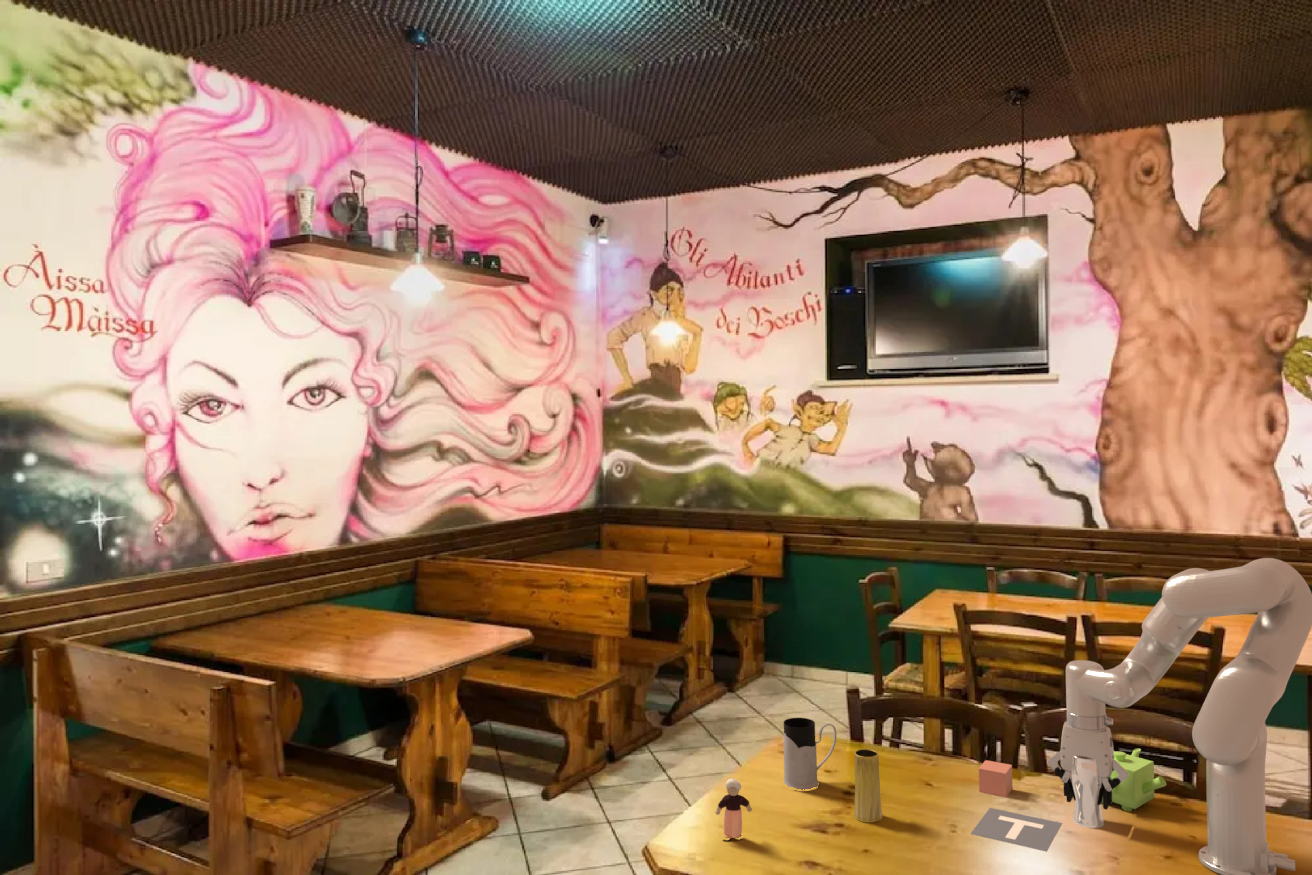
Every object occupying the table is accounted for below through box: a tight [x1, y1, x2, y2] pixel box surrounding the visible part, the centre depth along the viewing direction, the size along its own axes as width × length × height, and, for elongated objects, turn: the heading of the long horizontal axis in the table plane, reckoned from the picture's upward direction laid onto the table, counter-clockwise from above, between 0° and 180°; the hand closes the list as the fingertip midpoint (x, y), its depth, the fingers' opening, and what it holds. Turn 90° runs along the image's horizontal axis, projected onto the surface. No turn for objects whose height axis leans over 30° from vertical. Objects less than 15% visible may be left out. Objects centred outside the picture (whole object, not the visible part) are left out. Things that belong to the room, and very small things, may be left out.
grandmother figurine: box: [714, 777, 753, 839], centre depth 192 cm, size 8×4×13 cm, turn 105°
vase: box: [853, 748, 883, 824], centre depth 200 cm, size 6×6×14 cm
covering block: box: [978, 759, 1014, 798], centre depth 212 cm, size 6×6×6 cm
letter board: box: [970, 807, 1063, 852], centre depth 192 cm, size 15×15×1 cm
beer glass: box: [1069, 756, 1105, 829], centre depth 194 cm, size 7×7×15 cm
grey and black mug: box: [782, 717, 837, 790], centre depth 220 cm, size 9×14×15 cm, turn 107°
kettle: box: [1102, 748, 1167, 812], centre depth 204 cm, size 15×14×11 cm
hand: (1087, 802), depth 194 cm, fingers closed on beer glass, 6 cm apart
